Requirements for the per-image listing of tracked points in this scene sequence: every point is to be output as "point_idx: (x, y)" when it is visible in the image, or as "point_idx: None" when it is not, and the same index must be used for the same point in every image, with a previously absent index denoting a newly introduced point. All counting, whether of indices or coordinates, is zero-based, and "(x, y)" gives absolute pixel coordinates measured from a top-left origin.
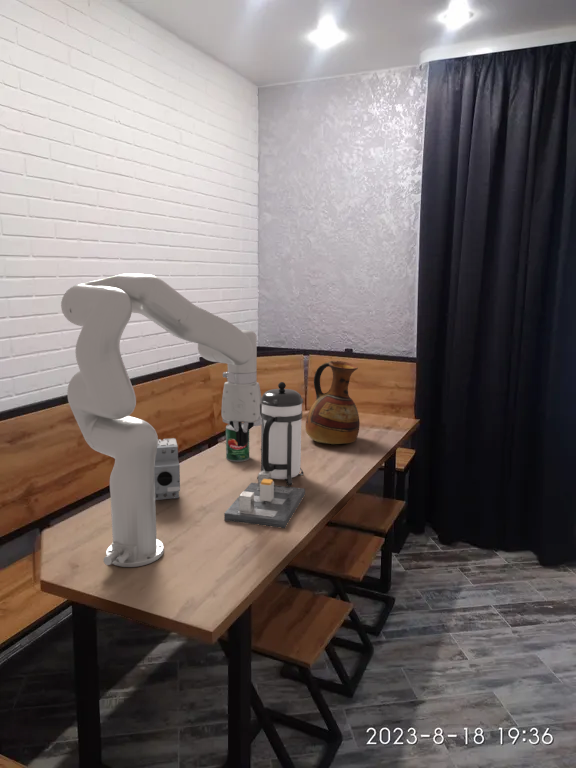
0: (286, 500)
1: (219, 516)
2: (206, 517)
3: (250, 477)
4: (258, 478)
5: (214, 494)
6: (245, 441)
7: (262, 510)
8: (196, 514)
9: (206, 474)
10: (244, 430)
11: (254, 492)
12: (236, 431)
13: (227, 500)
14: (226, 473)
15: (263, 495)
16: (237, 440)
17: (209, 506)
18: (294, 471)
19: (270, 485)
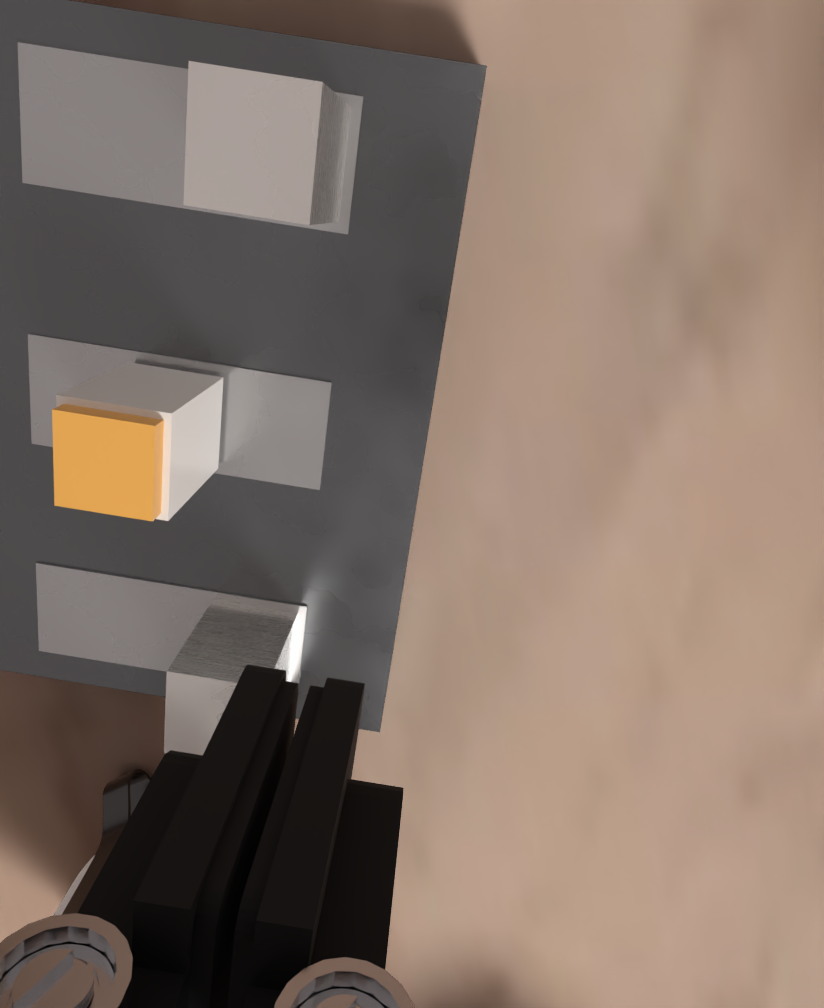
0: (23, 428)
1: (541, 161)
2: (652, 121)
3: (429, 879)
4: (273, 662)
5: (647, 584)
6: (191, 762)
7: (155, 178)
8: (750, 173)
9: (753, 905)
10: (77, 975)
11: (314, 554)
12: (354, 964)
13: (527, 487)
14: (609, 927)
15: (174, 383)
16: (373, 799)
17: (656, 355)
18: (74, 884)
19: (60, 400)
